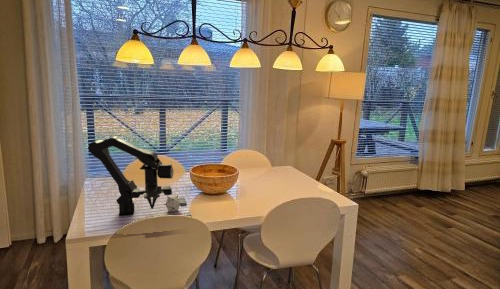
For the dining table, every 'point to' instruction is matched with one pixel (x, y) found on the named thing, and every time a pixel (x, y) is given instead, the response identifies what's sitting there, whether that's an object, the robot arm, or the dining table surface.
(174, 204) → the grey spiked polyhedron
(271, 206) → the dining table surface
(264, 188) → the dining table surface
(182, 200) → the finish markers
